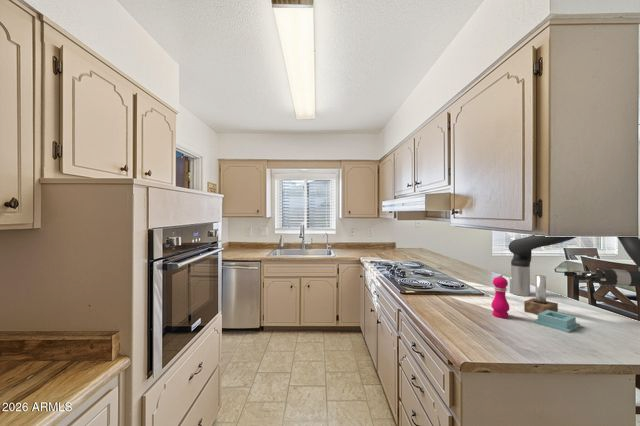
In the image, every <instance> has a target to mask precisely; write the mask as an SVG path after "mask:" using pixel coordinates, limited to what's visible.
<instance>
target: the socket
mask: <svg viewBox="0 0 640 426" xmlns="http://www.w3.org/2000/svg"><path fill="white" fill-rule="evenodd" d="M576 319H577V318H576V316H574V315H569V314H565V313H561V312H559V311H558V312H554V311H550V310H546V311H544V312H541V313H539V314H538V315H537V319H534V320H533V323H534V324H537V325H541V326H544V327H549V328H551V329H555V330H559V331H563V332H565V333H571V332H572V331H574V330H577V328H579V327H581V326H580V325H581V324H580V323H577V320H576Z"/></svg>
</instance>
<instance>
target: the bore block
mask: <svg viewBox="0 0 640 426" xmlns="http://www.w3.org/2000/svg"><path fill="white" fill-rule="evenodd" d="M523 304H524V307H523V308H524V309H523V311H524V312H525V313H526V312H527V313H528V314H529V313H530V314H533V315H537V316H538V314H539V313H541V312H544V311H546V310H550V311H554V312H558V313H559V311H558V310H559V309H558V308H559V306H558V305H559V304H558V303H557V302H553V301H548V300H546V304H545V305H544V304H540V303H536V297H532V298H530V299H527V300H524V302H523Z"/></svg>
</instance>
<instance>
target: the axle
mask: <svg viewBox="0 0 640 426" xmlns="http://www.w3.org/2000/svg"><path fill="white" fill-rule="evenodd" d="M535 299H536V303H540V304H544V305H545V304H546V301H547V276H546V275H541V274H536V275H535Z"/></svg>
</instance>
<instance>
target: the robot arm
mask: <svg viewBox="0 0 640 426" xmlns="http://www.w3.org/2000/svg"><path fill="white" fill-rule="evenodd" d="M576 238H577V237H545V236H535V235H534V234H531V235H528V236H526V237H522V238H517V239H513V240H512V241H510V242H509V244H508V250H509V251H510V253H512V254H513V257H512V259H511V260H510V268H511V269H510V270H511V271H510V275H511V276H510V277H509V293H510V294H513V295H515V296H521V297H529V296H531V262H532V250H535V249H538V248H543V247H549V246H553V245H557V244H562V243H566V242H569V241H571V240H573V239H576ZM616 238H617V239H618V240H619V243H620V244H621V245H622V247H623V249H624V252H626V254H627V255H628V256H629V257H630V259H631V261H633V263H634V264H635V265H636V266H637V267H638V268H639V269H640V238H639V236H638V237H617V236H616ZM563 275H564V276H565V277H573V280H575V281H585V282H589V283H598V285H600V286H607V287H609V286H612V287H638V288H639V287H640V271H639V270H629V269H626V270H625V269H617V268H615V269H613V268H598V269H596V271H595V272H594V271H590V270H589V271H588V270H585V271H584V270H572V271H564V272H563Z"/></svg>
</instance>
